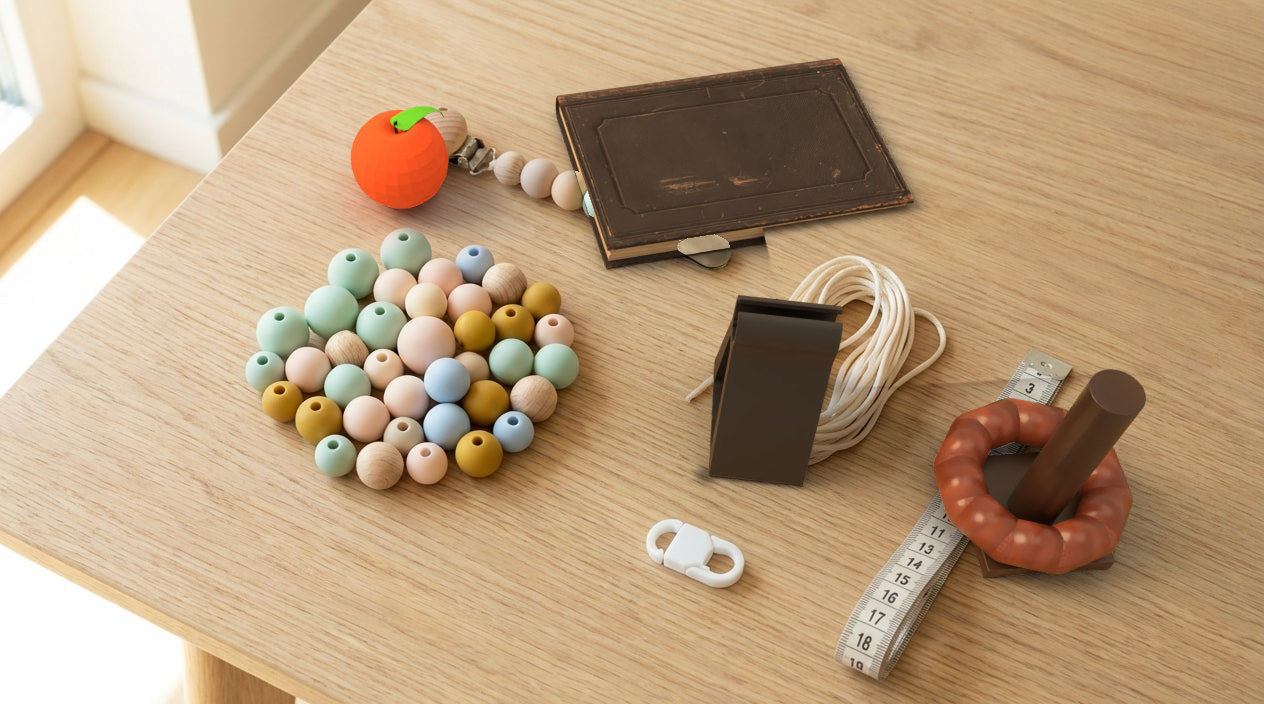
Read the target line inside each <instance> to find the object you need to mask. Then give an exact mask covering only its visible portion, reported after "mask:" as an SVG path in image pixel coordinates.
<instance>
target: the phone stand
mask: <svg viewBox="0 0 1264 704" xmlns="http://www.w3.org/2000/svg"><path fill="white" fill-rule="evenodd" d="M843 311H844V309H843V307H842V306H841V305H834V304H826V303H818V302H817V303H816V302H806V301H798V300H788V299H778V298H769V297H761V296H751V295H742V294H738V295H737V297H736V301H735V305H734V309H733V313H732V318H731V320H730V322H729V325H728V327H727V330H726V332H725V335H724V337H723V339H722V342H721V344H720V346H719V349H718V351H717V354H716V356H715V359H714V365H713V378H712V379H713V383H712V399H711V420H710V437H709V439H710V440H709V458H708V462H709V463H708V476H713V477H720V478H728V479H729V478H730V479H740V480H747V481H748V480H749V481H758V482H767V483H775V484H781V485H782V484H785V485H792V486H799V487H800V486H801V487H802V486H803V487H804V485H805V484H804V483H805V480H806V476H807V471H808V467H809V464H810V460H811V455H812V451H813V447H814V442H815V439H816V434H817V429H818V426H819V421H820V417H821V413H822V410H823V406H824V401H825V396H826V392H827V389H828V384H829V381H830V377H831V373H832V369H833V365H834V362H835V360H836V358H837V355H838V354H839V353H838V352H839V350H840V347H841V342H842V338H843V337H842V336H843V329H844V323H843V322H838V321H837V322H836V320H837V317H838V315H843Z"/></svg>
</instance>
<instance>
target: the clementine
mask: <svg viewBox="0 0 1264 704" xmlns="http://www.w3.org/2000/svg"><path fill="white" fill-rule="evenodd" d="M435 112H437V113H439V114H440V115H441V116H442V117H443V118H444V119H445V115H444V114H443V112H442V111H441V110H439V109H437V108H435V107H433V106H429V105H427V106H425V105H424V106H423V105H421V106H414V107H411V108H410V107H409V108H408V109H390V110H386V111H383V112H380V113H378V114H376V115H374V116H372V117H371V118H370V119H368V120H367V121H366V122H365V123H364V124H363V125H362V126H361V127H360V128H359V130H358V131H357V132H356V135H355V137H354V138H353V141H352V144H351V149H350V166H351V171H352V174H353V176H354V179H355V181H356V183H357V185H358V187H359V189H361V191H363V193H364V194H365V195H366V196H368V198H369V199H371V200H372V201H374V202H375V203H377V204H379V205H381V206H384V207H388V208H392V209H401V210H404V209H411V208H414V207H417V206H420V205H422V204H423V203H425V202H427V201H429V200H430V199H432V198H433V197H434V196H435V195H436V194H437V193H438V192H439V190H440V188H441V187H442V185H443V183H444V181H445V180H446V178H447V174H448V168H449V162H450V161H449V160H450V157H449V153H448V148H447V144H446V141H445V139H444V137H443V136H442V133H441V132H440V131H439V129H438V127H437V126H436V125H435V124H434V123H433V122H432V121H431V120H429V119H428V118H426V116H428V115H429V114H432V113H435Z"/></svg>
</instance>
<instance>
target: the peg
mask: <svg viewBox="0 0 1264 704" xmlns="http://www.w3.org/2000/svg"><path fill="white" fill-rule="evenodd" d="M1146 402H1147V395H1146V390H1145V388H1144V387H1143V386H1142V384H1141V383H1140V382H1139V380H1138V379H1136V377H1134V376H1132V375H1131V374H1129V373H1127V372H1125V371H1123V370H1119V369H1114V368H1106V369H1102V370H1099V371H1096V373H1094V374H1093V375H1092V376H1091V377H1090V379H1089V381H1088V382H1087V383H1086V385H1084V388H1083V389H1082V391H1080V393H1079V395H1078V396H1077V398H1076V400H1075V401H1074V402H1073V403H1072V405H1071V406H1070V407H1069V409H1068V412H1067V414H1066V415H1065V417H1064V418H1063V420H1062V421H1061V422H1060V424H1059V425H1058V427H1057V428H1056V430H1055V431H1054V433H1053V434H1052V435H1051V437H1050V438H1049V440H1048V441H1047V443H1046V444H1045V446H1044V447H1043V448H1042V449H1041V450H1039V451H1025V452H1009V453H1008V452H1007V453H996V454H989V455H988V457H987V459H986V461H985V463H984V466H983V468H982V471H983V474H984V477H985V481H986V484H987V487H988V490H989V493H990V495H991V496H992V497H993V498H994V499H995V500H996V501H998V502H999V503H1000V504H1001V505H1002V506H1003V507H1005V508H1006V509H1007V510H1008V511H1009V512H1011V513H1012V514H1013V515H1014V516H1015V517H1016V518H1018V519H1021V520H1026V521H1031V522H1035V523H1040V524H1045V525H1049V526H1053V525H1055V524H1058V523H1060V522H1063V521H1065V520H1067V519H1070V518H1072V517H1074V515H1075V513H1076V511H1077V508H1078V506H1079V503H1080V501H1081V495H1080V492H1079V490H1080V488H1081V487H1082V486H1083V484H1084V483H1085V482H1086V481H1087V479H1088V478H1089V477H1090V476H1091V474H1092V473H1093V472H1094V470H1095V469H1096V468H1097V467H1098V465H1099V464H1100V463H1101V461H1102V460H1103V459H1104V458H1105V456H1106V455H1107V454H1108V452H1109V451H1110V450H1111V449H1112V447H1113V448H1114V446H1115V445H1116V444H1117V442H1118V441H1119V440H1120V438H1122V436H1123V435H1124V433H1126V431H1127V430H1128V428H1129V427H1130V426H1131V424H1132V423H1133V422H1134V421H1135V420H1136V418H1137V417H1138V415H1139V414H1140V413H1141V411H1142V410H1143V409H1144V408H1145V406H1146ZM972 545H973V548H974V551H975V554H976V557H977V561H978V564H979V567H980V571H981V574H982V577H983V578H984V579H986V578H987V579H988V578H998V577H999V578H1000V577H1001V578H1002V577H1015V576H1027V575H1028V576H1029V575H1041V574H1043V575H1044V574H1045V573H1044V572H1040V571H1035V570H1030V569H1026V568H1021V567H1017V566H1012V565H1007V564H1003V563H999V562H997V561H995V560H993V559H992V558H991V557H989V556H988V555H987V554H986V553H985V552H984V551H983V550H981V549H980V548H979V547H978V546H977V545H976V544H975V543H973V542H972ZM1115 563H1116V559H1115V557H1114V553H1113V552H1111V553H1110V554H1108V555H1107V556H1105V557H1102V558H1100V559H1097V560H1095V561H1093V562H1090V563H1088V564H1086V565H1083V566H1081V567H1078V568H1076V569H1074V570H1071V571H1069V572H1083V571H1084V572H1085V571H1096V570H1098V571H1099V570H1109V569H1111V567H1112V566H1113V565H1114V564H1115ZM1069 572H1068V573H1069Z"/></svg>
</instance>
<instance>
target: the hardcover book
mask: <svg viewBox="0 0 1264 704" xmlns="http://www.w3.org/2000/svg"><path fill="white" fill-rule="evenodd" d="M555 116H556V120H557V124H558V126H559V130H560V132H561V135H562V136H561V137H562V139H563V141H564V145H565V148H566V151H567V154H568V157H569V160H570V163H571V167H572V169H573V171H574V170H575V171H578V172H580V173H581V175H582V176H583V179H584V182H585V185H586V188H587V191H588V194H589V197H590V200H591V203H592V206H593V209H594V217H592V216H590V215H588V218H589V221H590V225H591V228H592V230H593V233H594V237H595V240H596V243H597V246H598V249H599V252H600V255H601V258H602V261H603V265H604V268H605V269H610V268H617V267H622V266H623V267H624V266H630V265H635V264H642V263H648V262H656V261H660V260H667V259H674V258H679V257H685V256H684V255H683V254H682V253H681V252H679V251H678V249H677V245H678V243H680V242H681V241H683V240H685V239H687V238H694V237H700V236H706V235H714V234H715V235H718V236H720V237H722V238H724V239H726V240H727V241H728V242H729V245H730V248H731V249H736V248H743V247H749V246H755V245H760V244H766V243H767V239H766V235H765V232H764V229H766V228H771V227H779V226H784V225H785V226H786V225H790V224H797V223H798V224H799V223H802V222H810V221H816V220H822V219H827V218H828V219H829V218H834V217H840V216H846V215H847V216H848V215H852V214H853V215H854V214H860V213H865V212H867V213H868V212H872V211H879V210H884V209H891V208H897V207H904V206H905V207H906V206H907V205H908V204H914V203H915V198H914V197H913V195H912V193H911V191H910V189H909V187H908V185H907V184H906V181H905V180H904V178H903V176H902V174H901V172H900V171H899V168H898V166H897V164H896V163H895V161H894V159H893V157H892V155H891V153H890V151H889V149H888V147H887V146H886V143H885V142H884V140H883V138H882V136H881V134H880V132H879V130H878V128H877V127H876V125H875V123H874V121H873V119H872V117H871V116H870V113H869V111H868V109H867V108H866V106H865V104H864V102H863V100H862V98H861V96H860V94H859V92H858V91H857V88H856V87H855V85H854V83H853V81H852V80H851V78H850V76H849V73H848V71H847V70H846V68H845V66H844V64H843V62H842V60H841V59H840V58H839V57H835V58H828V59H827V58H826V59H820V60H813V61H805V62H797V63H790V64H783V65H776V66H767V67H761V68H760V67H759V68H754V69H753V68H752V69H745V70H738V71H730V72H724V73H723V72H722V73H716V74H709V75H708V74H707V75H700V76H694V77H693V76H692V77H686V78H685V77H684V78H679V79H672V80H671V79H670V80H663V81H657V82H650V83H649V82H647V83H641V84H635V85H634V84H633V85H627V86H626V85H625V86H619V87H612V88H611V87H610V88H604V89H598V90H597V89H596V90H588V91H581V92H574V93H567V94H558V95H556V96H555ZM679 240H681V241H679Z"/></svg>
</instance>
